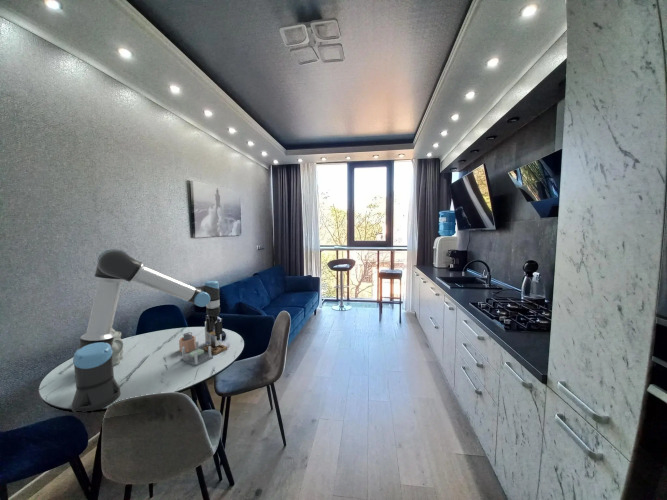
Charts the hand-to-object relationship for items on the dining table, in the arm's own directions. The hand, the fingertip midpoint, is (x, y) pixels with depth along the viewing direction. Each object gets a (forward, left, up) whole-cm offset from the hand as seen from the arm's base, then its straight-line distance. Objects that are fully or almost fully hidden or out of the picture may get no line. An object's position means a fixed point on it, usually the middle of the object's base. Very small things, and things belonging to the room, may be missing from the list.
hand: (215, 344), depth 153 cm
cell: (0, 0, -1) cm, 1 cm away
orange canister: (-8, +15, -3) cm, 17 cm away
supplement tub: (+5, +10, -4) cm, 12 cm away
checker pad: (-12, -1, -1) cm, 12 cm away
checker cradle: (-12, -1, -3) cm, 13 cm away
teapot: (-39, +35, -4) cm, 53 cm away
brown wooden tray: (0, 0, -3) cm, 3 cm away
